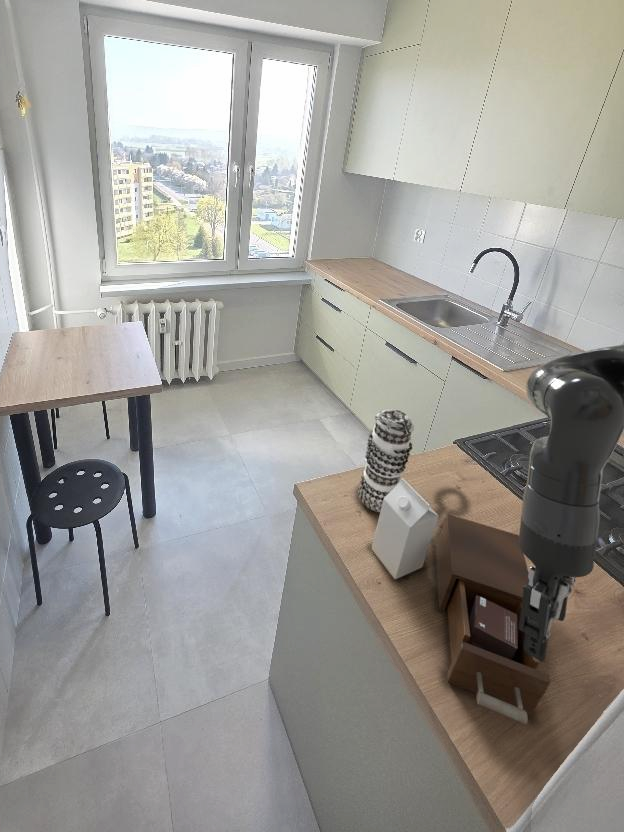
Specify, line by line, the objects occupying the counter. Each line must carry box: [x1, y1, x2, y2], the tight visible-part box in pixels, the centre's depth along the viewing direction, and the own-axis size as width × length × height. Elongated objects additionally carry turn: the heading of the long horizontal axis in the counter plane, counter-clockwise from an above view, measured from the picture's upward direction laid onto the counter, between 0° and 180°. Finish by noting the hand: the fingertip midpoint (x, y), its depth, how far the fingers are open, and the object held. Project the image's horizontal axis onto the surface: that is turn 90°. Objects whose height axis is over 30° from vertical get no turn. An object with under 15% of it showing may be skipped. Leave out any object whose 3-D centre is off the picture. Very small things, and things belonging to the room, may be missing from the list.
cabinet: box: [435, 513, 529, 611], centre depth 78 cm, size 14×13×11 cm
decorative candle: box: [357, 408, 416, 513], centre depth 94 cm, size 9×9×25 cm
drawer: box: [446, 579, 551, 725], centre depth 66 cm, size 17×11×9 cm
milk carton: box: [371, 477, 440, 580], centre depth 81 cm, size 7×7×19 cm
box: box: [468, 596, 518, 660], centre depth 68 cm, size 6×6×7 cm
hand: (544, 634), depth 54 cm, fingers open, 8 cm apart
